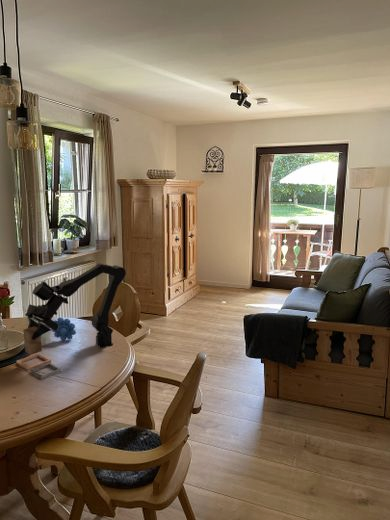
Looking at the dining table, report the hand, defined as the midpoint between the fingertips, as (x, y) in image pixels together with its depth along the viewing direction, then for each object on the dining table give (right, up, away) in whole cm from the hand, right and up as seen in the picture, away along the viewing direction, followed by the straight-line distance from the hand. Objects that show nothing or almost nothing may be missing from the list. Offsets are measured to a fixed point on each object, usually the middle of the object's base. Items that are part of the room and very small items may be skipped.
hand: (29, 337), depth 164 cm
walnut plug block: (+1, -6, +2) cm, 7 cm away
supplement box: (-6, -8, +26) cm, 27 cm away
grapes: (+5, -7, +27) cm, 29 cm away
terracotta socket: (+1, -12, +3) cm, 12 cm away
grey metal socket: (+9, -13, -5) cm, 17 cm away
